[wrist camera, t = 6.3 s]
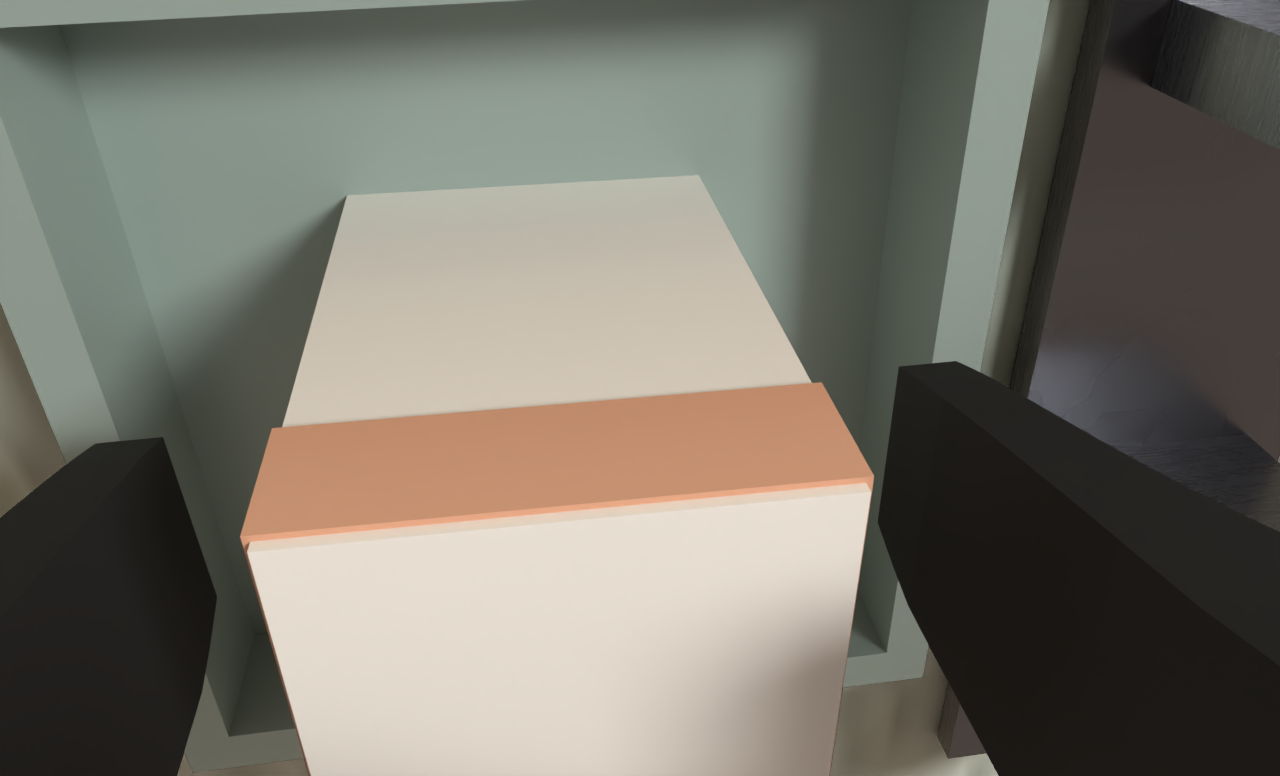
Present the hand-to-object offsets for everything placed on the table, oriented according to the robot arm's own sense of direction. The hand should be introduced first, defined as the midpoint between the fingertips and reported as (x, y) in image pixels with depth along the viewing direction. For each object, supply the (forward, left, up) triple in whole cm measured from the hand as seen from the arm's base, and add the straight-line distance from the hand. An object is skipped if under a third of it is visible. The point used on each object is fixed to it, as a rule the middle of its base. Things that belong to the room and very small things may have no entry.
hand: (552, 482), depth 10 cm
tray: (0, 0, -3) cm, 3 cm away
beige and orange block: (0, 0, -3) cm, 3 cm away
